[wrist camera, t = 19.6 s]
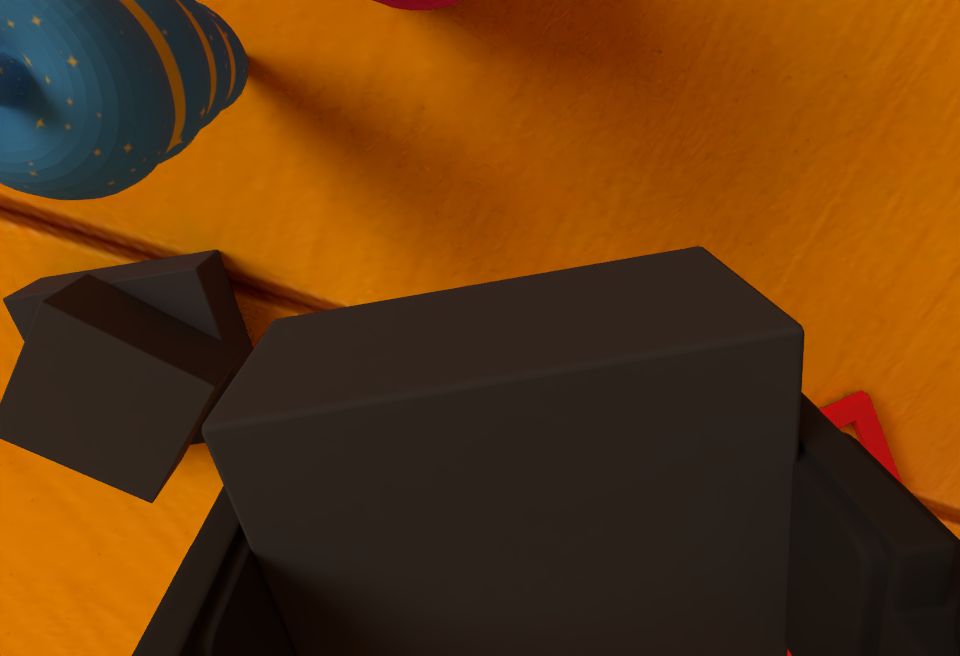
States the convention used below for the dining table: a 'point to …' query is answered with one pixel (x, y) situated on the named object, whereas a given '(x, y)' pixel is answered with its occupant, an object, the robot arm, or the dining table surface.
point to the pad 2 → (525, 466)
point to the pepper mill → (418, 4)
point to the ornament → (107, 89)
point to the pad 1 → (112, 386)
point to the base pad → (160, 299)
